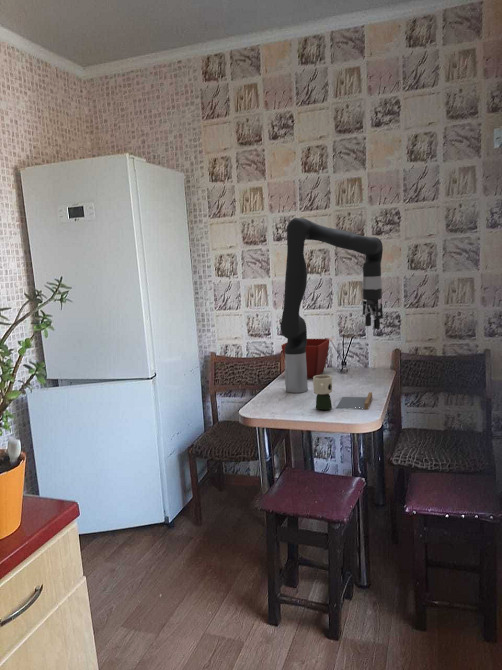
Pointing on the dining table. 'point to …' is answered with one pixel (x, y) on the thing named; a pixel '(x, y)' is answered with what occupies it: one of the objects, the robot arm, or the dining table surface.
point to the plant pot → (314, 356)
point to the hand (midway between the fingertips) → (372, 327)
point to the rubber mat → (355, 402)
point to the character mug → (323, 391)
